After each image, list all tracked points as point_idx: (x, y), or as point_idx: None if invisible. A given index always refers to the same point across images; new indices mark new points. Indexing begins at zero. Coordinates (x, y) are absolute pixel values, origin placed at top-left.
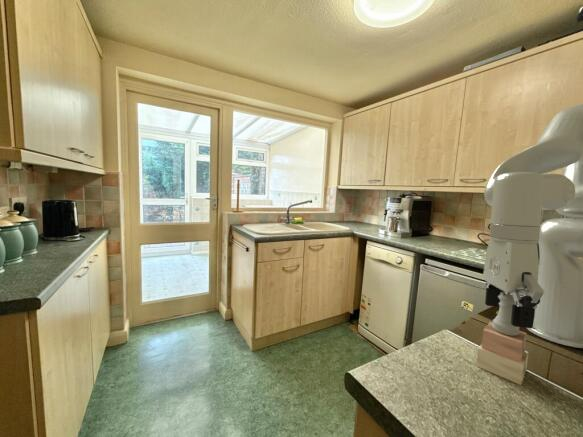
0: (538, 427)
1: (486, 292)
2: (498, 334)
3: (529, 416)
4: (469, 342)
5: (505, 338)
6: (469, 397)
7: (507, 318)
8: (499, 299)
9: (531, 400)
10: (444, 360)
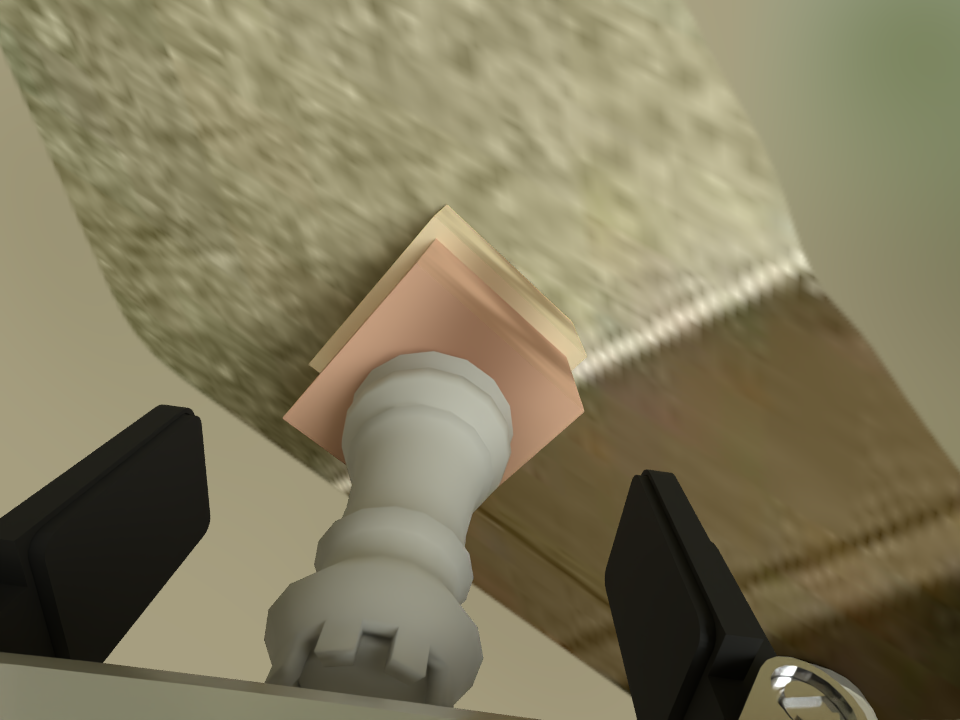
0: (94, 219)
1: (717, 575)
2: (365, 339)
3: (144, 226)
4: (688, 305)
5: (336, 359)
6: (165, 3)
7: (358, 467)
8: (628, 619)
9: (251, 303)
10: (469, 23)
